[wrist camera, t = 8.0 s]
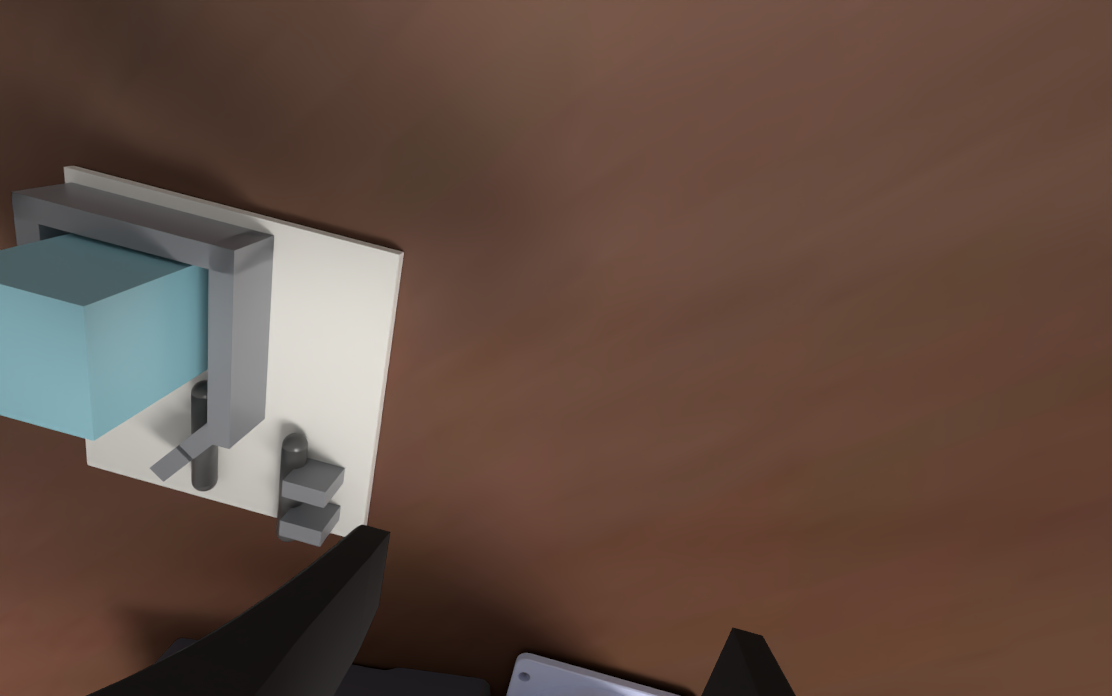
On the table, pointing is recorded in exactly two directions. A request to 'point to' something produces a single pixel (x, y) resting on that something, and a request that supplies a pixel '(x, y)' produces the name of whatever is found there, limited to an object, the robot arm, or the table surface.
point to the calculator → (390, 680)
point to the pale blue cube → (96, 332)
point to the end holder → (192, 239)
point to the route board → (280, 384)
